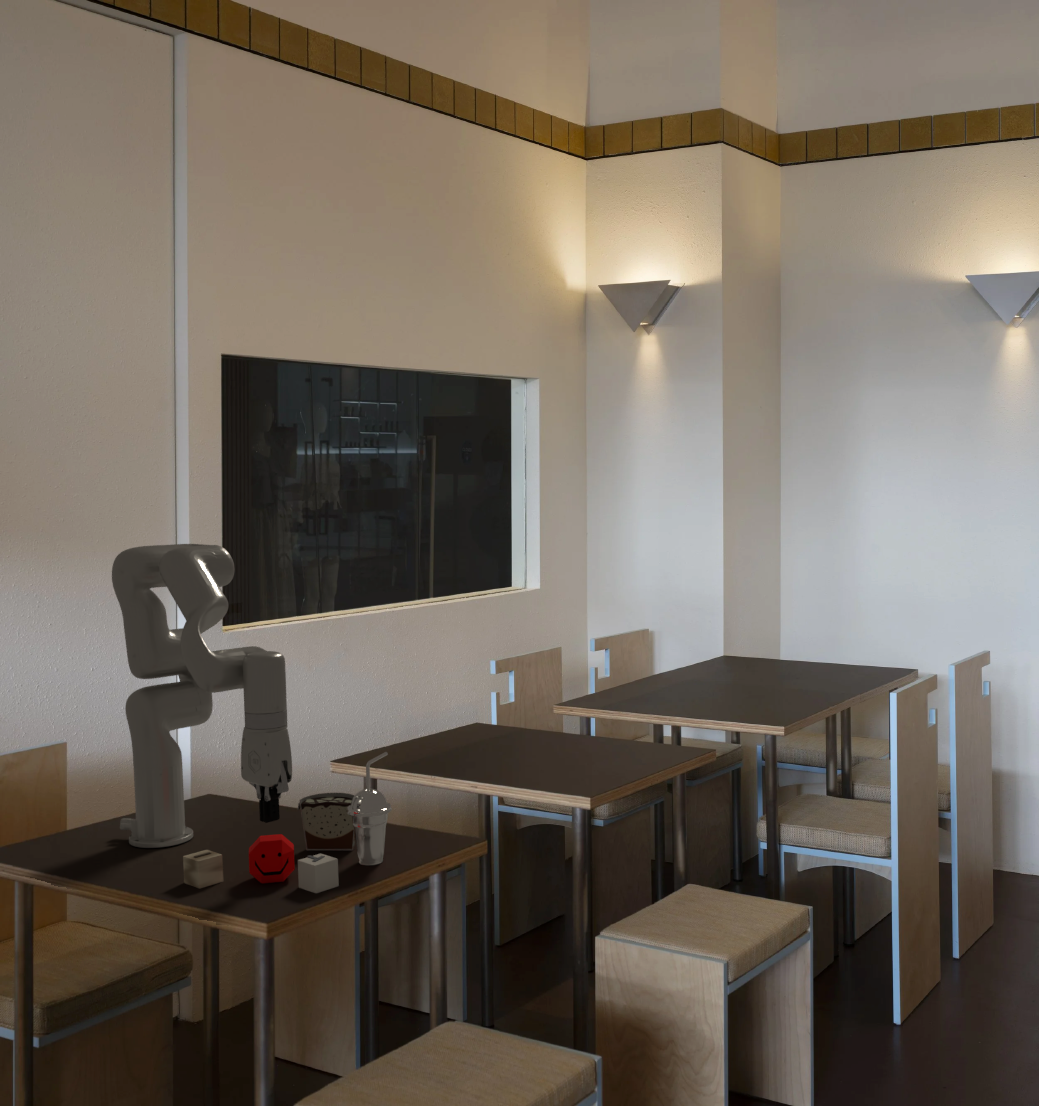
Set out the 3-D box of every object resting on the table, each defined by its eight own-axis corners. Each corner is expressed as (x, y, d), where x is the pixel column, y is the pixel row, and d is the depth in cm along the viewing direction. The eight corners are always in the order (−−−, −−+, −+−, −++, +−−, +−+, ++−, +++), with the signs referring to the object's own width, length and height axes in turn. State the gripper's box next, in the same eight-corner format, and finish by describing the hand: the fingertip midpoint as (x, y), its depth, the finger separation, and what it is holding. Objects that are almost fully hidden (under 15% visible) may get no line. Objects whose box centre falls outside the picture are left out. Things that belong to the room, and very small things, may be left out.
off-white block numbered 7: (298, 887, 216) (296, 859, 216) (320, 880, 220) (319, 852, 220) (315, 893, 213) (314, 864, 213) (338, 886, 216) (337, 857, 216)
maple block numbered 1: (184, 883, 221) (182, 855, 220) (208, 876, 224) (207, 848, 224) (199, 889, 217) (197, 860, 217) (223, 881, 221) (222, 853, 221)
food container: (367, 841, 243) (365, 791, 243) (360, 850, 237) (358, 799, 237) (307, 841, 245) (305, 792, 244) (298, 850, 239) (296, 799, 238)
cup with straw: (342, 859, 232) (338, 755, 231) (387, 851, 236) (383, 749, 235) (356, 871, 224) (352, 764, 223) (402, 863, 228) (399, 758, 227)
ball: (249, 888, 217) (247, 846, 216) (250, 874, 224) (248, 833, 224) (295, 884, 218) (293, 842, 218) (294, 870, 226) (292, 830, 226)
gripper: (224, 718, 222) (228, 818, 223) (273, 729, 212) (276, 832, 213) (259, 712, 227) (263, 809, 229) (308, 722, 217) (311, 823, 218)
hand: (269, 820), depth 221 cm, fingers closed
